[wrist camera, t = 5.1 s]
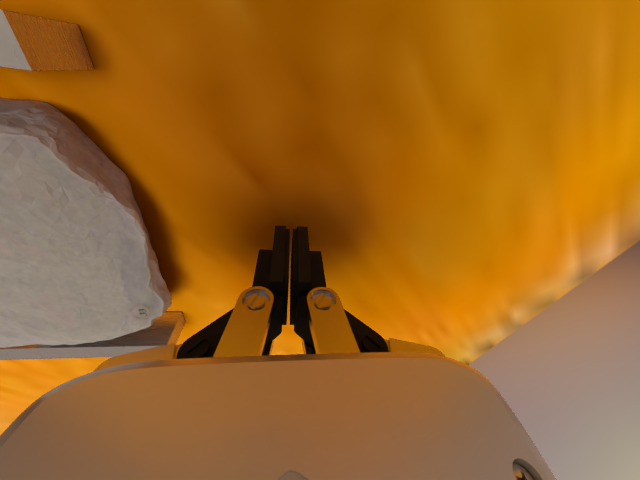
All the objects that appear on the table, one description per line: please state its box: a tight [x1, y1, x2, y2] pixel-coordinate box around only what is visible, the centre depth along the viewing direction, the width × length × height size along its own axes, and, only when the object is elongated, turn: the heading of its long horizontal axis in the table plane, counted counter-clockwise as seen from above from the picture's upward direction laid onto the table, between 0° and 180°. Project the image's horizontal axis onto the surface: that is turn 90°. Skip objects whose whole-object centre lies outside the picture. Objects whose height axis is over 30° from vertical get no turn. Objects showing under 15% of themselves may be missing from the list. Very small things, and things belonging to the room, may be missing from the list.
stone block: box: [0, 98, 172, 348], centre depth 11 cm, size 12×5×10 cm
